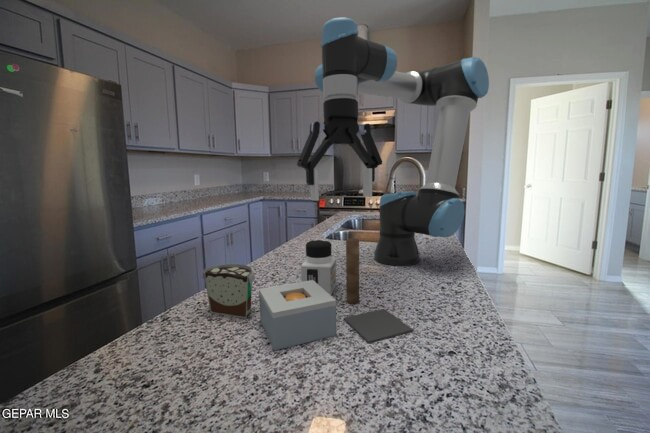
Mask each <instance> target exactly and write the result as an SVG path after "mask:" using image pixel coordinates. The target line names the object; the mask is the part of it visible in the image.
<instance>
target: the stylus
mask: <svg viewBox="0 0 650 433" xmlns="http://www.w3.org/2000/svg"><path fill="white" fill-rule="evenodd" d="M345 258H346V259H345V262H346V263H345V264H346V265H345V269H346V270H345V272H346V273H345V274H346V275H345V278H346V285H345V287H346V289H345V291H346V293H345V294H346V303H347V304H349V305H358V304H359V303H360V239H359V238H347V239H346V240H345Z"/></svg>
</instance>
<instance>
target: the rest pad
mask: <svg viewBox="0 0 650 433" xmlns="http://www.w3.org/2000/svg"><path fill="white" fill-rule="evenodd" d="M343 320H344V321H345V323H346V324H347V325H349V326H350V328H352V329H353V330H354V332H356V333H357V334H358V336H360V337H361V338H362V339H363V340H364V341H365V342H366V343H367V344H371V343H375V342H379V341H382V340H386V339H390V338H394V337H397V336H401V335H405V334H408V333H412V332H414V329H413V328H412V327H410V326H409V325H407V323H405V322H403V321H402V320H401V319H399V318H398V317H396V316H395V315H393V314H392V313H391V312H389V311H388V310H387V309H385V308H381V309H377V310H372V311H367V312H363V313H362V312H361V313H359V314H354V315H350V316H345V317H343Z"/></svg>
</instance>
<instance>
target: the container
mask: <svg viewBox="0 0 650 433" xmlns="http://www.w3.org/2000/svg"><path fill="white" fill-rule="evenodd" d="M305 258H306V259H305V260H304V262H303V263H302V264H301V265H300V280H301V281H300V282H304V281H310V280H314V281H315V282H316V283H317V284H318V285H319V286H320V287H321V288H323V289H324V290H325V291H326V292H327V293H328V294H329V295H331V296H332V294H333V292H334V290H335V288H336V285H337V259H336V257H332V243H331V242H330V241H328V240H326V239H312V240H310V241H308V242H306V243H305Z"/></svg>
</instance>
